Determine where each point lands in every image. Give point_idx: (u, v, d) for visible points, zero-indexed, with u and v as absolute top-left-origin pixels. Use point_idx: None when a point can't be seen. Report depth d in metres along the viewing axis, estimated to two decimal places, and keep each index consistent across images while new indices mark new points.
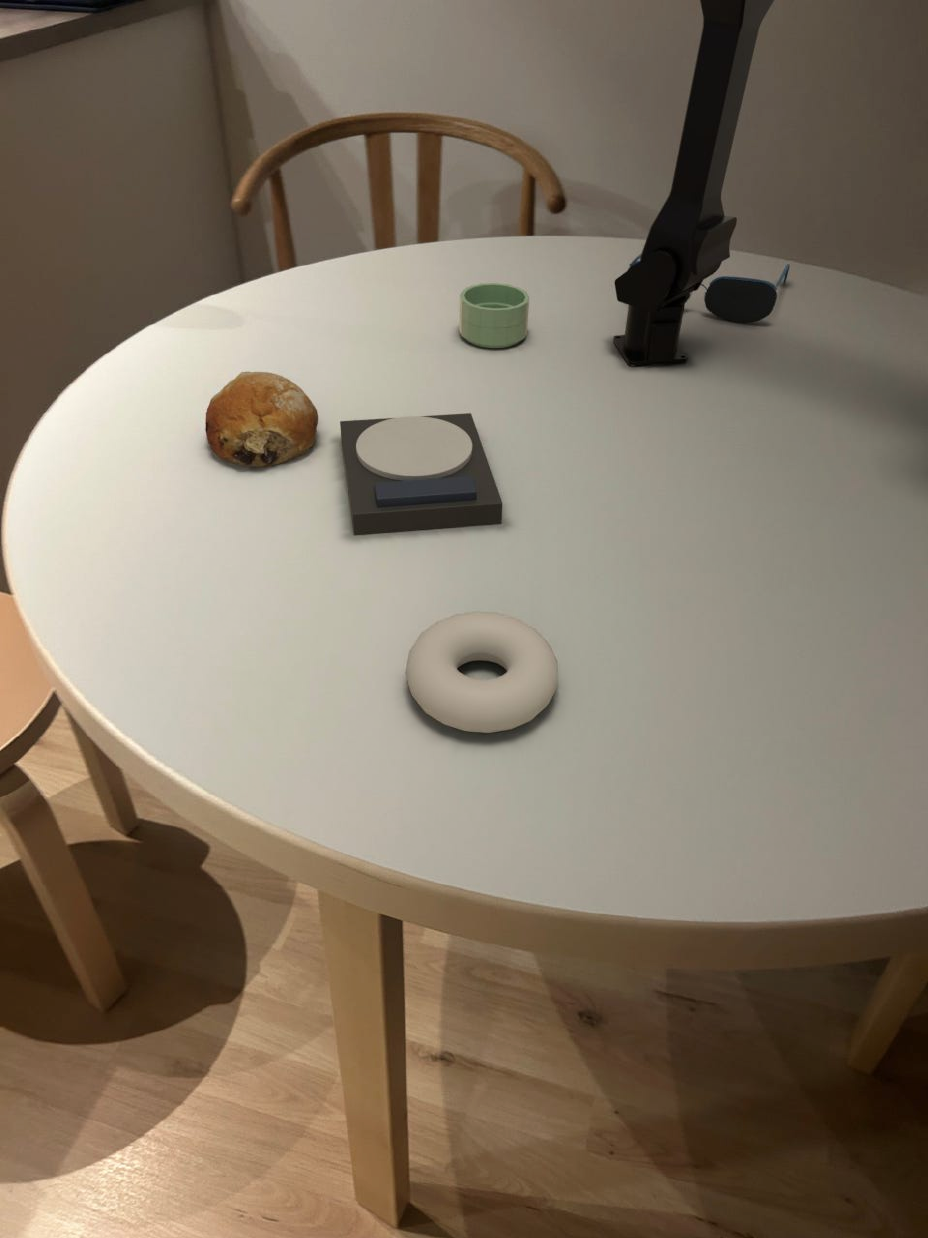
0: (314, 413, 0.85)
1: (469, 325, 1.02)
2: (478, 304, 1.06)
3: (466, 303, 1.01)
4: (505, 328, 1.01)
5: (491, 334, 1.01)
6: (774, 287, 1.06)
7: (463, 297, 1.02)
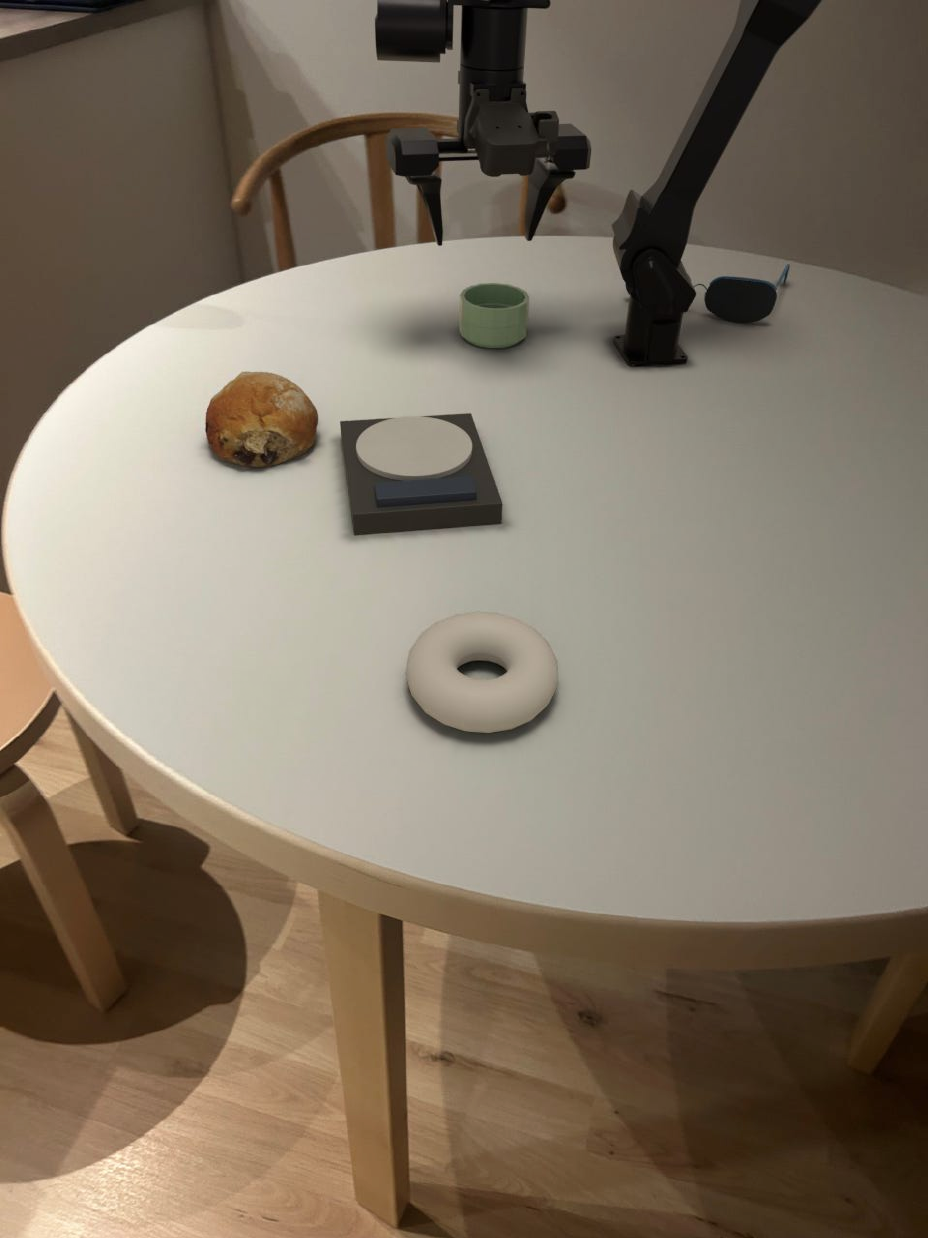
0: (314, 413, 0.85)
1: (469, 325, 1.02)
2: (478, 304, 1.06)
3: (466, 303, 1.01)
4: (505, 328, 1.01)
5: (491, 334, 1.01)
6: (774, 287, 1.06)
7: (463, 297, 1.02)
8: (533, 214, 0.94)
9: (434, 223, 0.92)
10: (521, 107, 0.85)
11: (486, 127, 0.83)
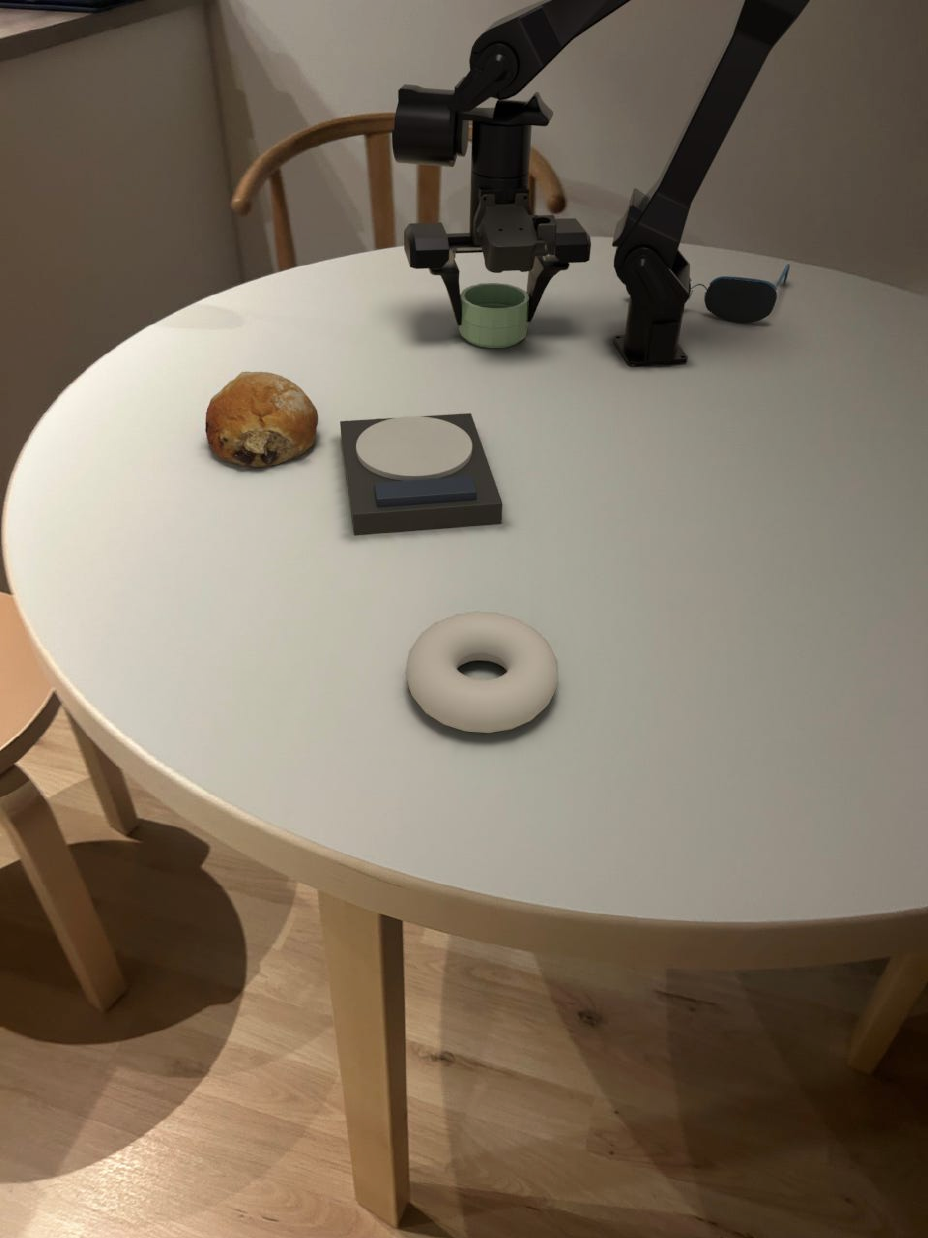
0: (314, 413, 0.85)
1: (469, 325, 1.02)
2: (478, 304, 1.06)
3: (466, 303, 1.01)
4: (505, 328, 1.01)
5: (491, 334, 1.01)
6: (774, 287, 1.06)
7: (463, 297, 1.02)
8: (531, 299, 1.02)
9: (454, 306, 1.01)
10: (524, 210, 0.93)
11: (490, 229, 0.92)
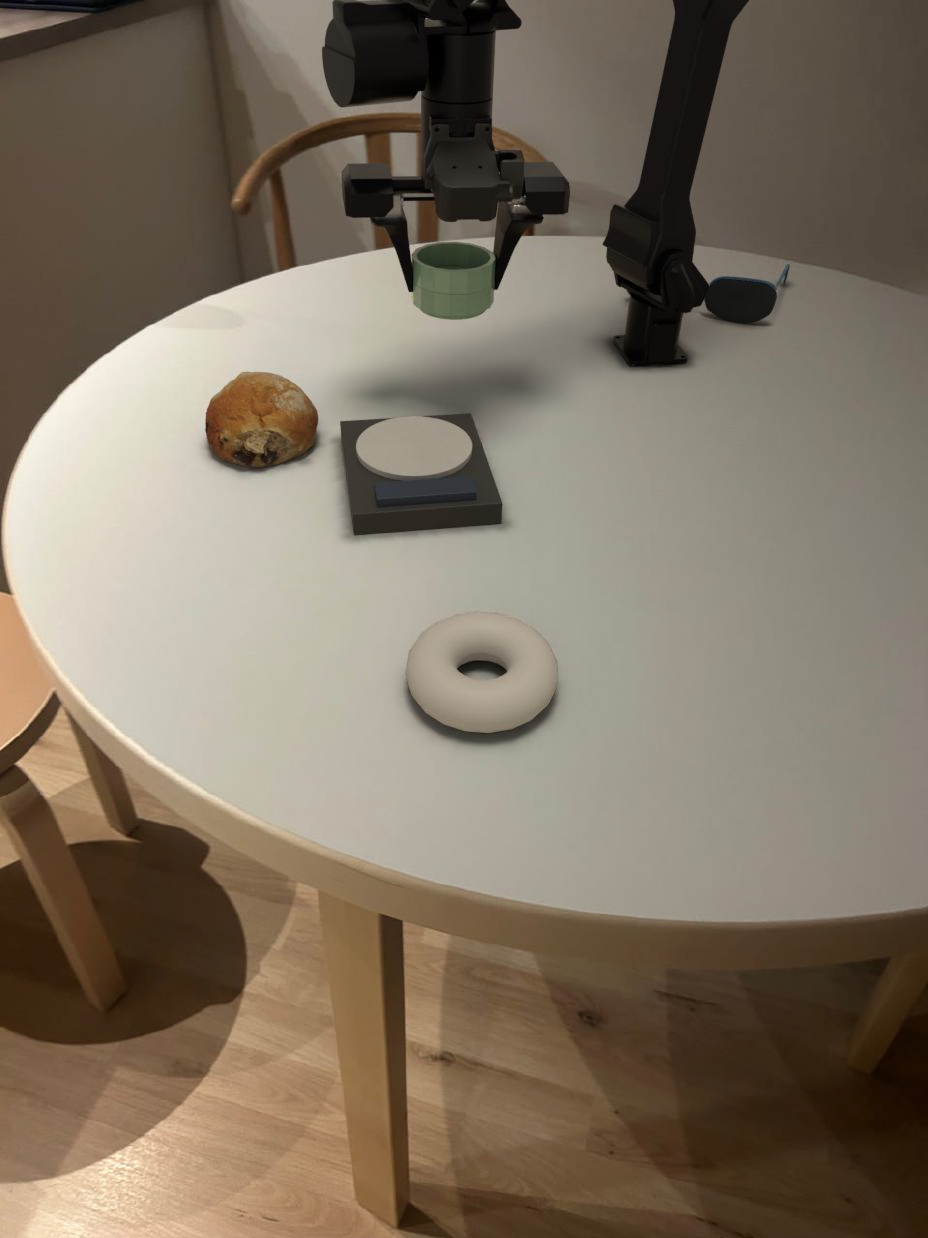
0: (314, 413, 0.85)
1: (422, 291, 0.84)
2: (435, 267, 0.87)
3: (418, 263, 0.83)
4: (465, 295, 0.83)
5: (448, 302, 0.83)
6: (774, 287, 1.06)
7: (415, 257, 0.84)
8: (498, 261, 0.84)
9: (403, 268, 0.83)
10: (485, 144, 0.75)
11: (441, 167, 0.73)
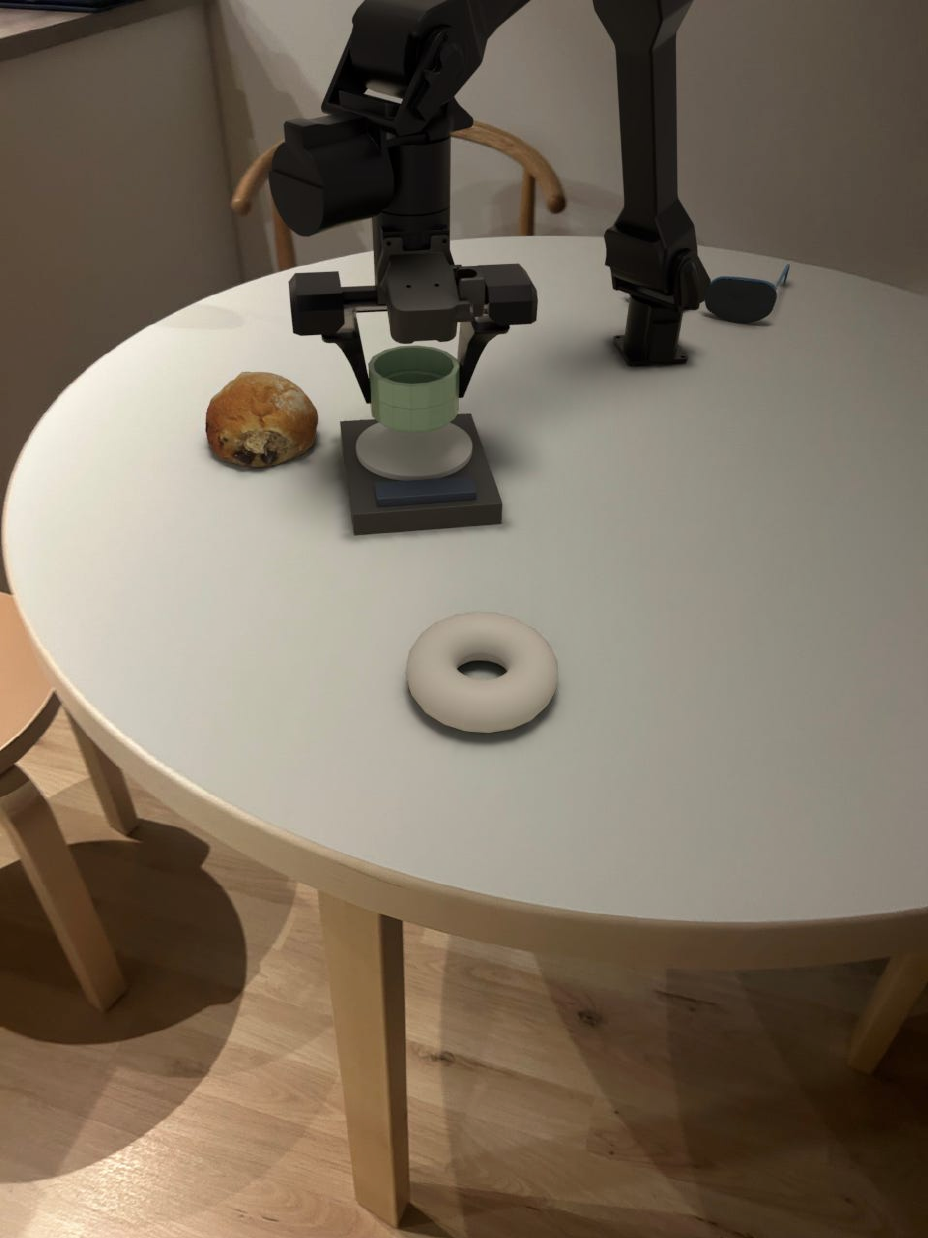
0: (314, 413, 0.85)
1: (380, 404, 0.77)
2: (395, 373, 0.81)
3: (374, 376, 0.76)
4: (427, 409, 0.76)
5: (408, 417, 0.77)
6: (774, 287, 1.06)
7: (372, 367, 0.77)
8: (462, 370, 0.78)
9: (359, 381, 0.77)
10: (443, 258, 0.69)
11: (394, 286, 0.67)
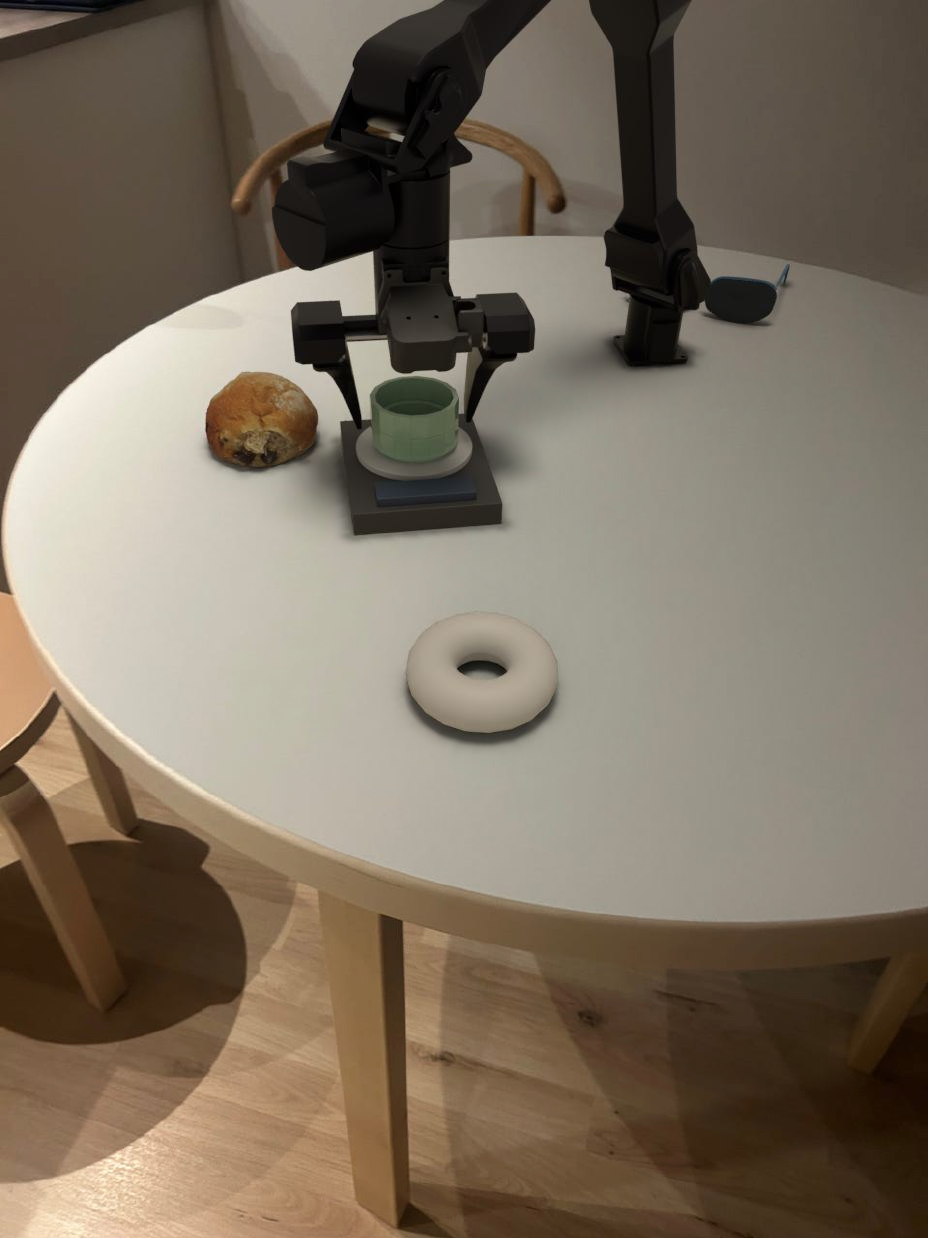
0: (314, 413, 0.85)
1: (381, 434, 0.79)
2: (396, 403, 0.83)
3: (376, 407, 0.78)
4: (427, 439, 0.78)
5: (409, 447, 0.78)
6: (774, 287, 1.06)
7: (373, 398, 0.79)
8: (470, 396, 0.79)
9: (350, 408, 0.78)
10: (442, 289, 0.70)
11: (394, 318, 0.68)
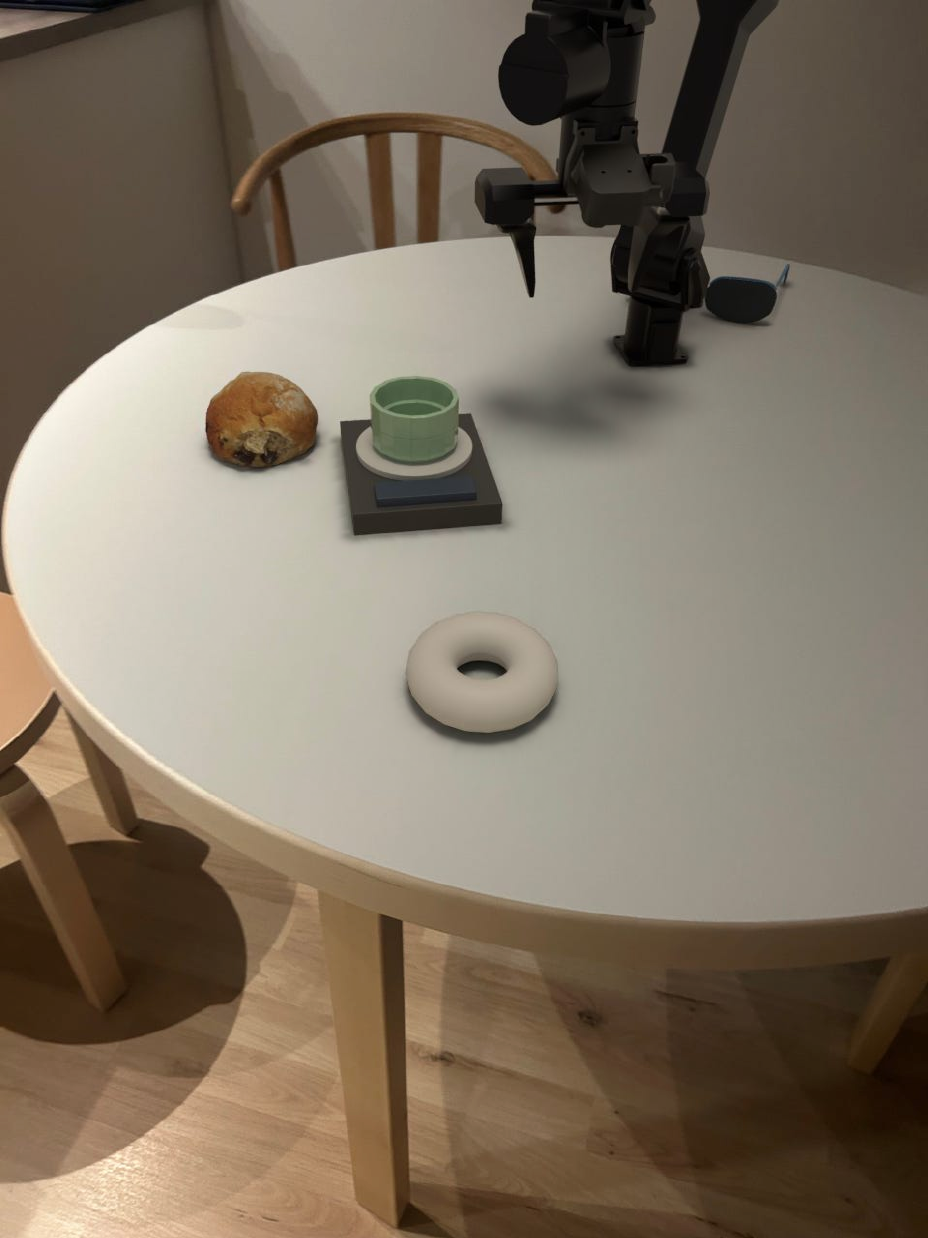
0: (314, 413, 0.85)
1: (381, 434, 0.79)
2: (396, 403, 0.83)
3: (376, 407, 0.78)
4: (427, 439, 0.78)
5: (409, 447, 0.78)
6: (774, 287, 1.06)
7: (373, 398, 0.79)
8: (639, 263, 0.83)
9: (526, 274, 0.82)
10: (631, 147, 0.74)
11: (590, 172, 0.72)
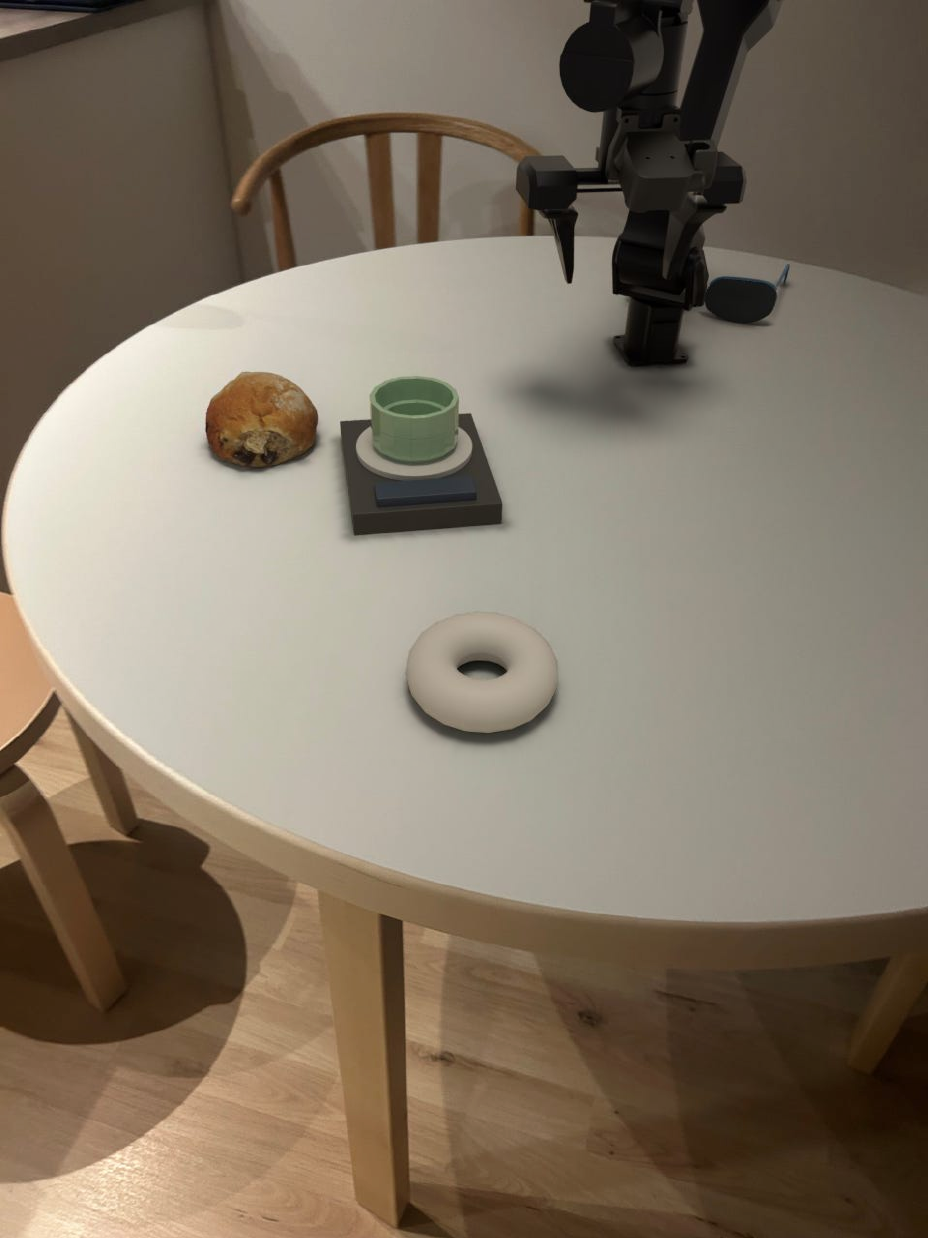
0: (314, 413, 0.85)
1: (381, 434, 0.79)
2: (396, 403, 0.83)
3: (376, 407, 0.78)
4: (427, 439, 0.78)
5: (409, 447, 0.78)
6: (774, 287, 1.06)
7: (373, 398, 0.79)
8: (675, 251, 0.85)
9: (565, 260, 0.84)
10: (673, 135, 0.76)
11: (635, 158, 0.74)
